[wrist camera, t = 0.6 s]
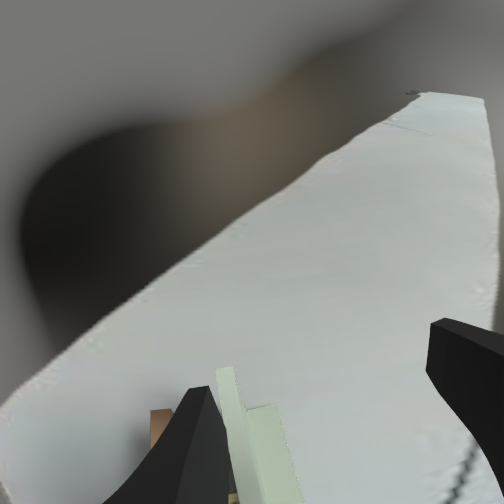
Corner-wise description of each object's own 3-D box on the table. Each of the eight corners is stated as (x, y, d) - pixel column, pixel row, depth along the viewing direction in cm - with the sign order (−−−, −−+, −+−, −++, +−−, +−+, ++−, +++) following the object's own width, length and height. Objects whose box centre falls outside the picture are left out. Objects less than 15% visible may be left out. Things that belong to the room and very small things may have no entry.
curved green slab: (325, 574, 12) (346, 602, 6) (230, 591, 12) (200, 623, 5) (276, 408, 26) (272, 357, 20) (196, 423, 26) (161, 377, 19)
